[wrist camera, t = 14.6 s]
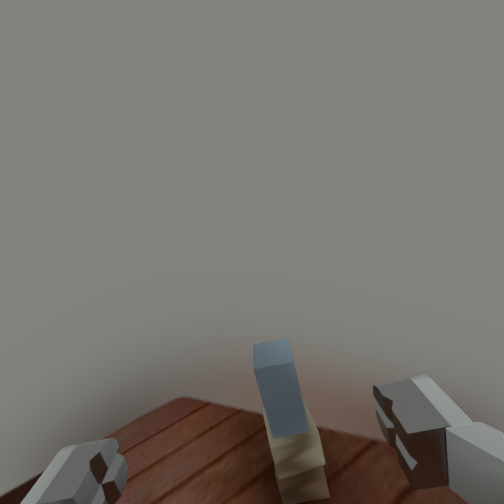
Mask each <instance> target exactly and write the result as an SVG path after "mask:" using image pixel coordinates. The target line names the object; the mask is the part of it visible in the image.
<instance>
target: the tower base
mask: <svg viewBox="0 0 504 504" xmlns="http://www.w3.org/2000/svg"><path fill="white" fill-rule="evenodd" d="M274 466H275V464H274ZM275 477H276V481H277V485H278V488H279V492H280V495H281V499H282V502H283V504H296V503H302V502H308V501H314V500H320V499H326V498H330V495H329V490H328V486H327V481H326V477H325V472H324V468H323V465H322V466H319V467H316V468H313V469H310V470H307V471H304V472H301V473H298V474H295V475H292V476H289V477H286V478H283V479H280V480H279V478H278V475H277V471H276V467H275Z"/></svg>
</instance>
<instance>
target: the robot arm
mask: <svg viewBox="0 0 504 504" xmlns="http://www.w3.org/2000/svg"><path fill="white" fill-rule="evenodd" d="M373 394H374V397H375V399H376V400H377V402H378V405H377V406H376V413H377V418H378V421H379V424H380V427H381V430H382V432H383V434H384V437H385V438H386V440H387V442H388V444H389V446H391V447H392V448H393V449H395V450H396V451H397V455H398V462H399V464H400V466H401V468H402V470H403V471H404V473H405V475H406V477H407V479H408V480H409V482H410V484H411V486H412V488H413V489H414V490H421V489H428V488H435V487H442V486H449V488H450V489H452V490H453V491H454V492H455V493H457V494H458V495H459V496H460V497H461V498H463V499H464V500H465V501H466V502H468V503H469V504H504V433H502V432H500V431H498V430H496V429H494V428H492V427H490V426H488V425H486V424H484V423H482V422H473V421H472V420H471V419H470V418H469V417H468V416H467V415H466V414H465V413H464V412H463V411H462V410H461V409H460V408H459V407H458V406H457V405H456V404H455V403H454V402H453V401H452V400H451V399H450V398H449V397H448V396H447V395H446V394H445V393H444V392H443V391H442V390H441V389H440V387H438V385H437V384H436V383H435V382H434V381H433V380H432V379H431V378H430V377H429V376H427V375H425V374H423V375H418V376H413V377H409V378H404V379H399V380H395V381H390V382H385V383H380V384H376V385H373ZM118 449H119V445H118V443H117V441H116V439H115V438H109V439H103V440H97V441H91V442H85V443H81V444H75V445H70V446H66V447H64V448H63V449H61V450H60V451H59V452H58V453H57V455H56V456H55V458H54V459H53V460H52V462H51V463H50V464H49V466H48V467H47V468H46V470H45V471H44V472H43V474H42V475H41V476H40V478H39V479H38V480H37V482H36V483H35V485H34V486H33V487H32V489H31V490H30V491H29V493H28V494H27V495H26V497H25V498H24V499H23V501H22V502H21V503H20V504H115V503H116V502H117V501H118V500H119V498H120V497H121V496H122V494H123V491H124V489H125V486H126V482H127V476H128V467H127V462H126V460H125V458H124V457H123V456H122V455H120V454H118V453H117V452H118Z"/></svg>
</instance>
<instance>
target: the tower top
mask: <svg viewBox="0 0 504 504" xmlns="http://www.w3.org/2000/svg"><path fill="white" fill-rule="evenodd" d="M301 396H302V401H303V405H304V410H305V414H306V418H307V423H308V427H309V432H307V433H301V434H296V435H290V436H285V437H279V438H274V439H273V438H272V434H271V430H270V427H269V423H268V419H267V416H266V412H265V408H264V406H263V407H262V411H263V416H264V421H265V426H266V430H267V435H268V440H269V445H270V449H271V453H272V457H273V460H274V464H275V467H276V471H277V475H278V478H279V480H280V479H283V478H286V477H289V476H292V475H295V474H298V473H301V472H304V471H307V470H310V469H313V468H316V467H319V466H322V465H325V464H326V463H325V459H324V454H323V449H322V445H321V440H320V435H319V432H318V429H317V427H316V425H315V422H314V420H313V418H312V416H311V413H310V411H309V408H308V406H307V404H306V401H305V399H304V397H303V395H301Z"/></svg>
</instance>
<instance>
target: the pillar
mask: <svg viewBox="0 0 504 504" xmlns="http://www.w3.org/2000/svg"><path fill="white" fill-rule="evenodd" d="M254 372H255V375H256V379H257V382H258V386H259V390H260V393H261V397H262V401H263V405H264V408H265V412H266V416H267V419H268V423H269V427H270V430H271V434H272V438H273V439H274V438H279V437H285V436H290V435H296V434H301V433H307V432H309V427H308V423H307V418H306V414H305V410H304V405H303V401H302V396H301V392H300V387H299V383H298V379H297V374H296V370H295V365H294V361H293V357H292V353H291V348H290V344H289V340H288V338H286V339H281V340H277V341H272V342H267V343H262V344H257V345H254Z"/></svg>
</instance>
